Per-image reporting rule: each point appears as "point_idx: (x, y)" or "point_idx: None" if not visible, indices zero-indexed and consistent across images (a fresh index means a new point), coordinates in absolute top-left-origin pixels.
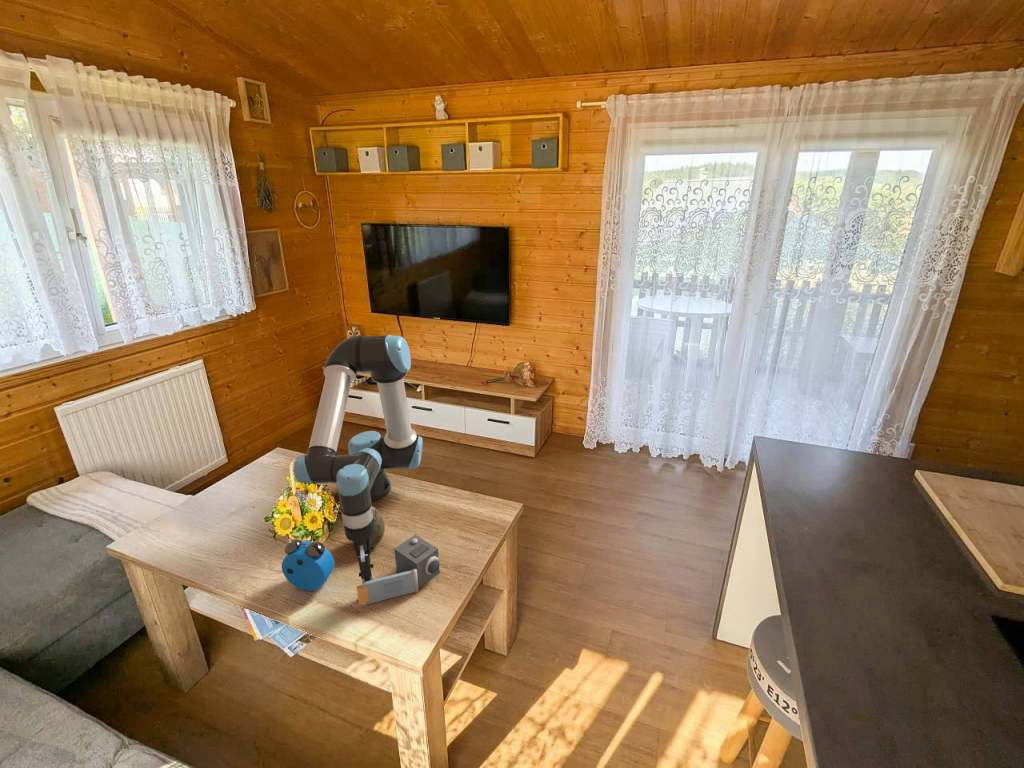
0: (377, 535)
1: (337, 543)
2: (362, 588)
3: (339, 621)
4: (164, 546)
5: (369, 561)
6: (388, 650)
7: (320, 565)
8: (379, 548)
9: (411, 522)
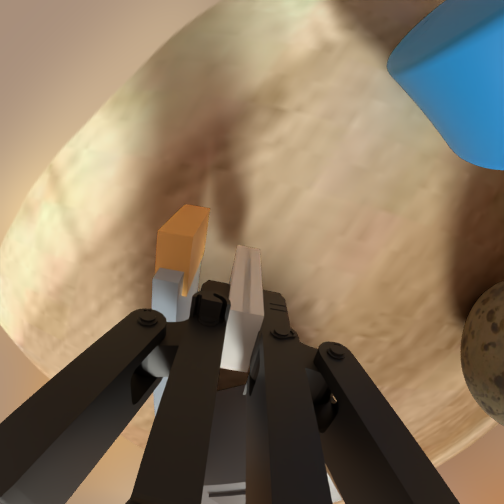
0: (473, 383)
1: None
2: (156, 265)
3: (158, 104)
4: None
5: (246, 424)
6: (5, 248)
7: (473, 47)
8: (448, 335)
9: (453, 412)
